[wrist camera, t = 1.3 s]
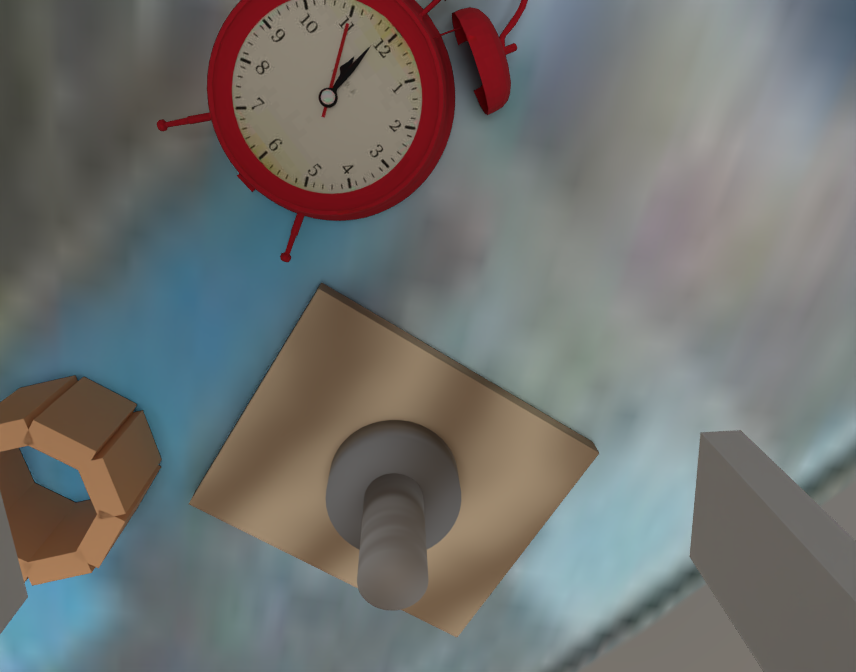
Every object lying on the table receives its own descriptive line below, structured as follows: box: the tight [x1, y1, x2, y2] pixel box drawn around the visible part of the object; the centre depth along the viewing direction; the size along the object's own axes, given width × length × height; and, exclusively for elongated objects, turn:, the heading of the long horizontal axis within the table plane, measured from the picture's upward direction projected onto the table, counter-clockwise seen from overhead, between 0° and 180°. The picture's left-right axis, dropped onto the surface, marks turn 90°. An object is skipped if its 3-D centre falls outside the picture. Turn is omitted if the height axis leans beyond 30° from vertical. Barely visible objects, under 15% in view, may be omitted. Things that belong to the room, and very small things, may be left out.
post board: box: [189, 282, 599, 637], centre depth 32 cm, size 16×13×9 cm
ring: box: [0, 376, 162, 586], centre depth 33 cm, size 8×8×5 cm
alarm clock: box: [157, 0, 528, 262], centre depth 29 cm, size 10×6×15 cm
